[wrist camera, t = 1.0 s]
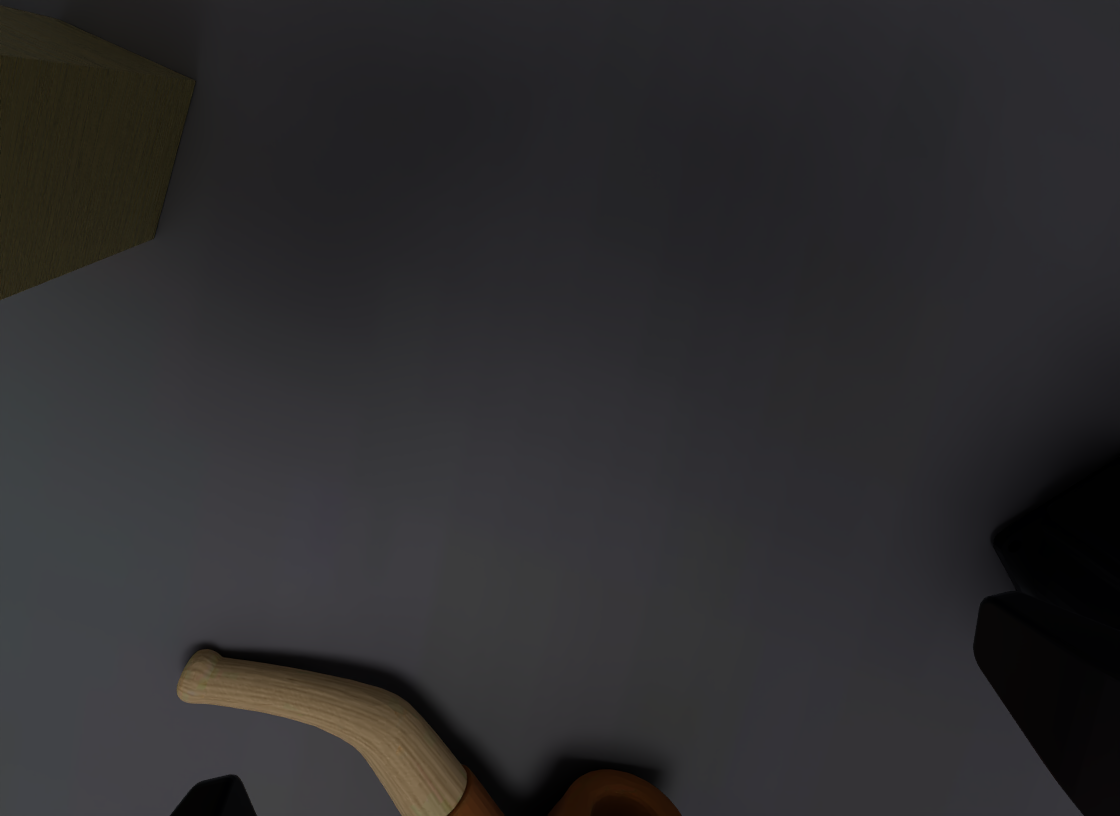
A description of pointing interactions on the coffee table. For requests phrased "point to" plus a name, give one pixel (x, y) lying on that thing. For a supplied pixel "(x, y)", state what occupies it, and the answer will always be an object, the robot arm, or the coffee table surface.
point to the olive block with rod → (79, 147)
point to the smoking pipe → (395, 740)
